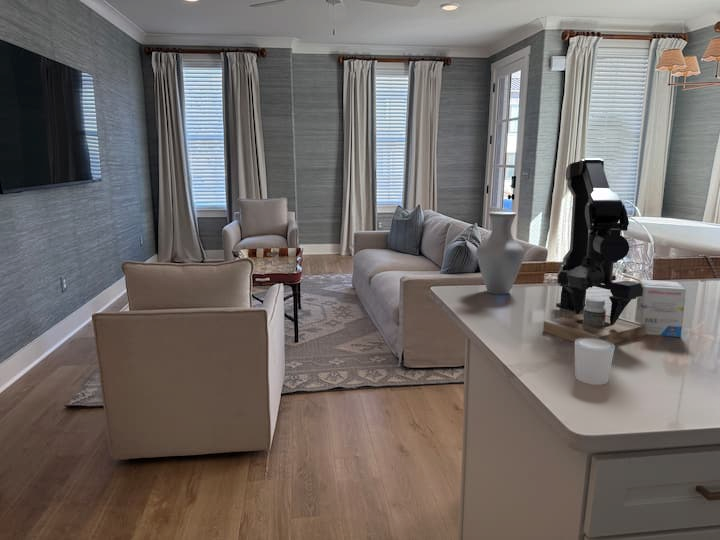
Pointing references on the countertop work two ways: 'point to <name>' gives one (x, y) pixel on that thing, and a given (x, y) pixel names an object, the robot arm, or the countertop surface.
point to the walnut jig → (575, 329)
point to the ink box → (661, 307)
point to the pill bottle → (594, 313)
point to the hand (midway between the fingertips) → (594, 318)
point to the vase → (500, 255)
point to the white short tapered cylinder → (593, 360)
